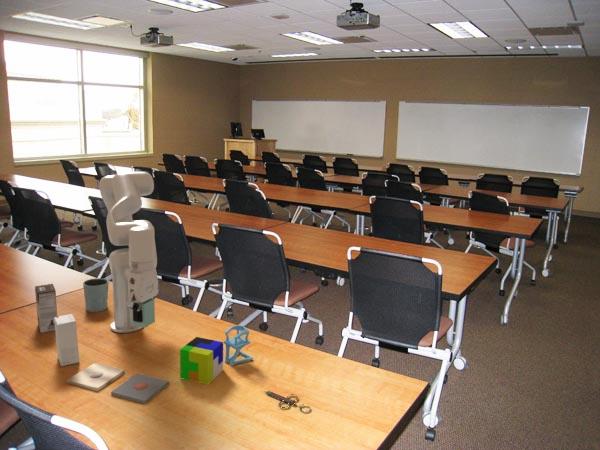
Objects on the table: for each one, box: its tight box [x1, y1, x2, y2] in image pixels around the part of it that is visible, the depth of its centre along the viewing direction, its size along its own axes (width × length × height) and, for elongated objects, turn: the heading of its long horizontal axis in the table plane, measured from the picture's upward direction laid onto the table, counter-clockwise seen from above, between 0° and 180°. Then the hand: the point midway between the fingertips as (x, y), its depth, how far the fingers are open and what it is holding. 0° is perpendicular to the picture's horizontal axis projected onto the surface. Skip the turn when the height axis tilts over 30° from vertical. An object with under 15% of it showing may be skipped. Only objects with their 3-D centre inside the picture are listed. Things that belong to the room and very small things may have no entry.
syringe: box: [263, 390, 305, 409], centre depth 144 cm, size 8×18×2 cm, turn 56°
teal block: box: [132, 299, 156, 328], centre depth 158 cm, size 5×5×8 cm
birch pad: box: [66, 362, 126, 392], centre depth 153 cm, size 12×12×1 cm
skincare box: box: [54, 313, 81, 367], centre depth 162 cm, size 8×6×15 cm
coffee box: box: [34, 283, 58, 334], centre depth 187 cm, size 9×6×16 cm
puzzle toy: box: [179, 336, 224, 385], centre depth 157 cm, size 10×10×10 cm
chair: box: [223, 325, 254, 366], centre depth 167 cm, size 8×8×12 cm
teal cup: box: [82, 277, 110, 313], centre depth 207 cm, size 10×10×12 cm
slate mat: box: [110, 372, 170, 405], centre depth 148 cm, size 12×12×1 cm
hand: (143, 317), depth 158 cm, fingers closed on teal block, 5 cm apart
